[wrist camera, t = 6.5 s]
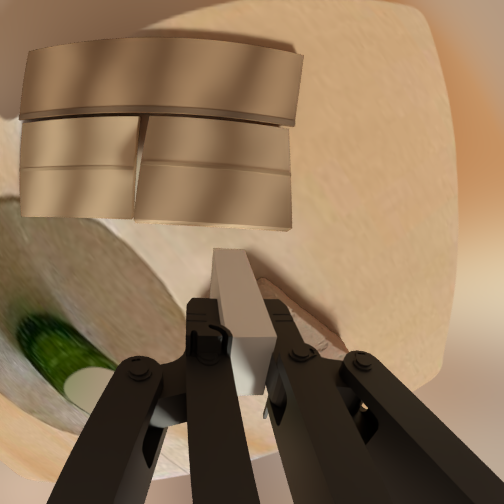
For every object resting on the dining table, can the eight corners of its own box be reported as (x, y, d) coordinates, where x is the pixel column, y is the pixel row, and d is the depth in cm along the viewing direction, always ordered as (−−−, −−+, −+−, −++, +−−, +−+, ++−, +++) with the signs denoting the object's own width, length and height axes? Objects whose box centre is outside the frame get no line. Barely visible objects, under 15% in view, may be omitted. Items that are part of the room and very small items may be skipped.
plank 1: (26, 213, 23) (20, 216, 22) (28, 123, 20) (22, 123, 19) (134, 216, 26) (131, 219, 25) (140, 117, 23) (138, 116, 22)
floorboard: (26, 119, 20) (18, 120, 19) (35, 53, 18) (28, 51, 16) (289, 126, 26) (294, 126, 25) (298, 58, 23) (304, 54, 22)
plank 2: (135, 223, 22) (133, 218, 21) (150, 123, 23) (149, 115, 22) (286, 231, 24) (292, 228, 23) (284, 135, 26) (289, 128, 25)
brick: (209, 321, 33) (212, 348, 29) (262, 271, 32) (272, 294, 28) (298, 375, 40) (308, 399, 36) (343, 338, 39) (358, 361, 34)
